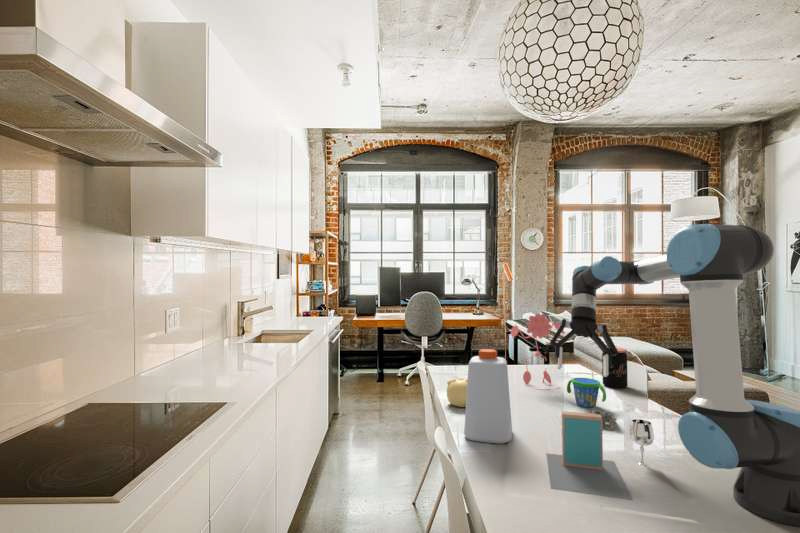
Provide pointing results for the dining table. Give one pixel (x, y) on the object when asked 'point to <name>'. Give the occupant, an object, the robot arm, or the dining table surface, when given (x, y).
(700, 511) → the dining table surface
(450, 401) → the sculpture
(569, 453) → the peach rectangular block
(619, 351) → the coffee jar
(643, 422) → the wineglass
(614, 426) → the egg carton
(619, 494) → the mat
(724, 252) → the robot arm
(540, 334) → the pink flower
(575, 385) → the snack cup
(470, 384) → the plastic bottle
